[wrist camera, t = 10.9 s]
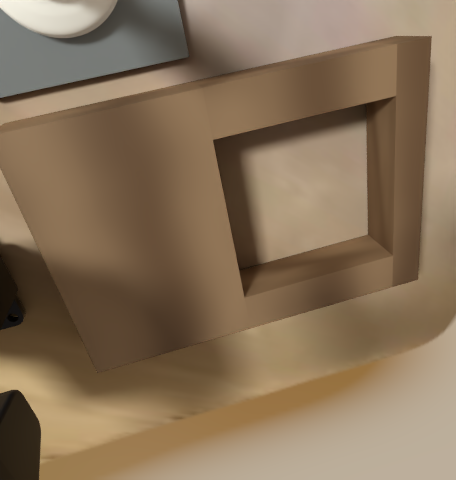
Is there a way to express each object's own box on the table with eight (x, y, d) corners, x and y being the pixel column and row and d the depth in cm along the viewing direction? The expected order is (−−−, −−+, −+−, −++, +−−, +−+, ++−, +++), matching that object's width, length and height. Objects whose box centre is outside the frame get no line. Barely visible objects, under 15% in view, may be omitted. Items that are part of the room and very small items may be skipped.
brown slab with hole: (100, 339, 22) (97, 372, 20) (4, 123, 17) (-15, 136, 14) (391, 257, 24) (417, 279, 22) (396, 35, 18) (431, 36, 16)
